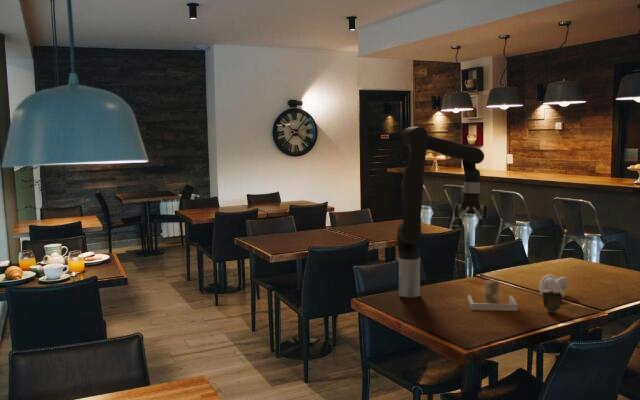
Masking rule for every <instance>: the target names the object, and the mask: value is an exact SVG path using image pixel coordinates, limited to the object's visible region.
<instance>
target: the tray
mask: <svg viewBox="0 0 640 400" xmlns="http://www.w3.org/2000/svg"><path fill="white" fill-rule="evenodd" d="M467 302H468V303H467V304H468V306H469V309H470V310H471V311H473V310H474V311H507V312H508V311H514V312H516V311H517V312H518V305H519V304H518V303H517V301H516V300H515V298H514V297H513V295H509V296H508V303H499V304H497V303H485V302H483V303H482V302H474V300H473V298H472V295H471V294H467Z"/></svg>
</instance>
